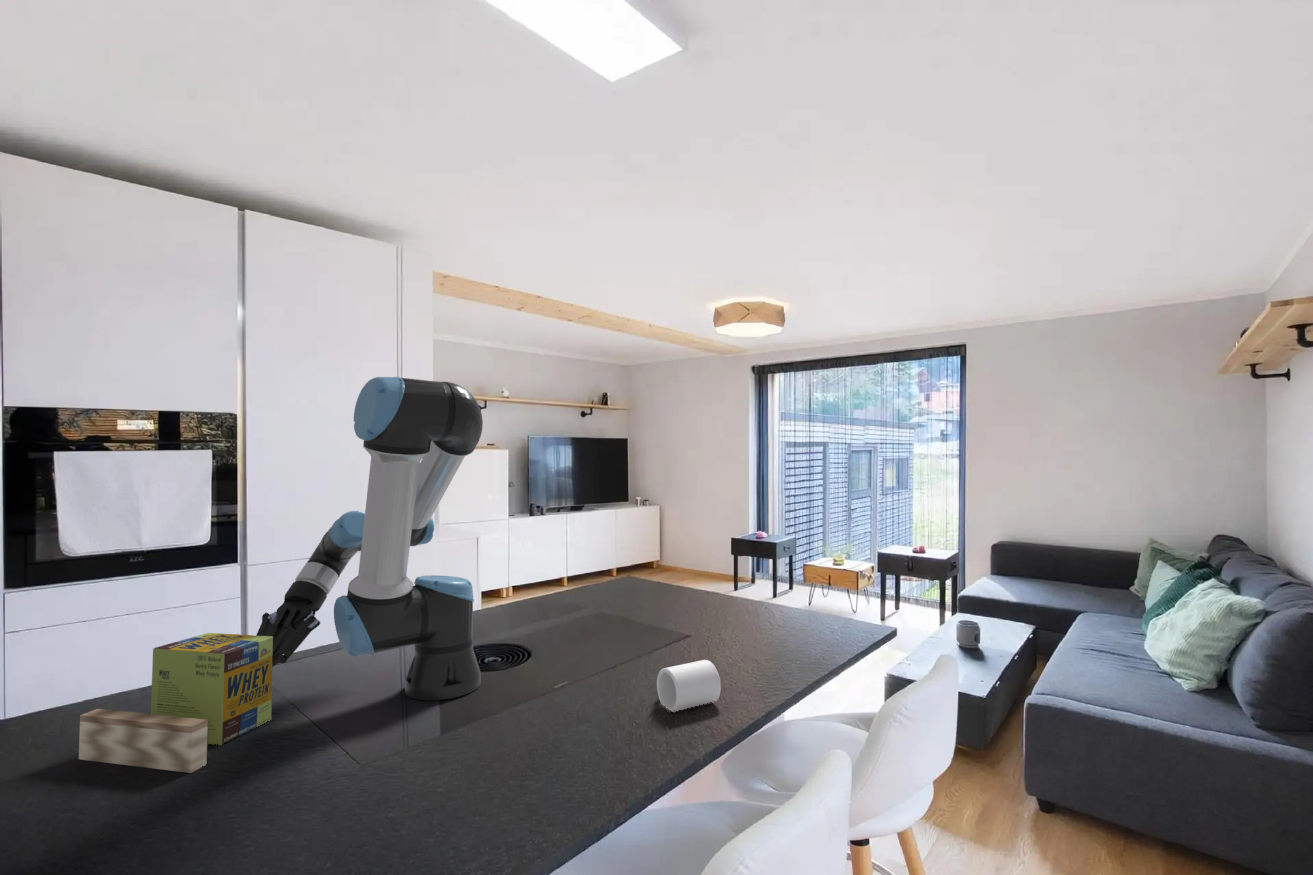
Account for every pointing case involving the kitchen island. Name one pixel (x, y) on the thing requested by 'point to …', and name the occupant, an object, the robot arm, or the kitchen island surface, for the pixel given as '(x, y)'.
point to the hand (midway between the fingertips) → (242, 695)
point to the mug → (688, 685)
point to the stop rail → (143, 740)
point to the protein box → (215, 682)
